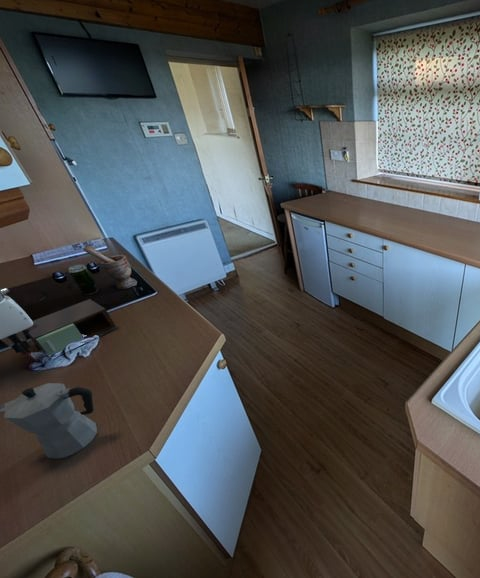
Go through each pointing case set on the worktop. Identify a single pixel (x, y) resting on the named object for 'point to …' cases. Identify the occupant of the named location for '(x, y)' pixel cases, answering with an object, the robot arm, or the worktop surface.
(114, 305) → the worktop surface
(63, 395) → the coffeepot
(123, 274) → the mortar and pestle
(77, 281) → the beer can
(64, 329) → the sliding door
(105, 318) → the cupboard
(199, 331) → the worktop surface
